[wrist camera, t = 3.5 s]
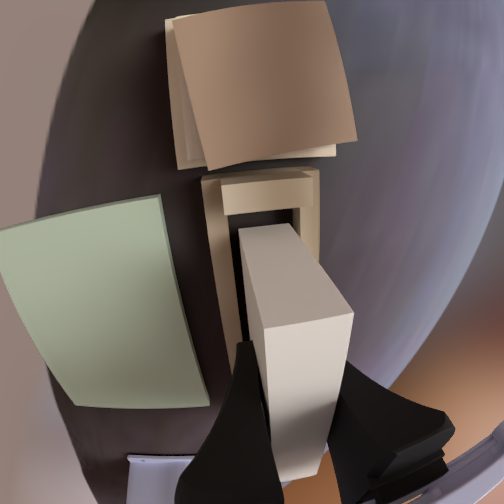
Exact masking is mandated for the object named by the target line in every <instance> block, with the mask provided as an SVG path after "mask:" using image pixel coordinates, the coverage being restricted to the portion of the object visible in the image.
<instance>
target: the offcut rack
mask: <svg viewBox="0 0 504 504" xmlns="http://www.w3.org/2000/svg"><path fill="white" fill-rule="evenodd" d="M165 32H166V52H167V68H168V81H169V93H170V104H171V115H172V124H173V134H174V142H175V151H176V159H177V167H178V170H180V169H187V168H194V167H202V166H207V167H208V171H210V170H214V169H218V168H222V167H226V166H230V165H234V164H238V163H242V162H247V161H257V160H269V159H284V158H301V157H324V156H336V144H338V143H345V142H352V141H357V135H356V129H355V122H354V117H353V111H352V106H351V100H350V95H349V90H348V85H347V81H346V76H345V72H344V68H343V63H342V59H341V55H340V51H339V47H338V44H337V40H336V36H335V33H334V29H333V26H332V22H331V19H330V16H329V13H328V10H327V6H326V3H325V1H290V2H274V3H262V4H253V5H245V6H238V7H231V8H225V9H220V10H214V11H209V12H205V13H200V14H193V15H186V16H179V17H176V18H172V19H167V20H165ZM201 185H202V193H203V201H204V209H205V216H206V223H207V230H208V237H209V244H210V251H211V258H212V264H213V271H214V277H215V283H216V289H217V295H218V301H219V307H220V313H221V319H222V325H223V330H224V336H225V341H226V347H227V352H228V357H229V363H230V368H231V373H232V374H233V369H234V364H235V359H236V344H237V343H238V342H243V341H242V333H241V326H240V318H239V310H238V303H237V295H236V287H235V279H234V270H233V262H232V254H231V245H230V237H229V228H228V219H227V215H233V214H241V213H250V212H259V211H268V210H278V209H288V208H292V210H293V229H294V230H295V232H296V233H297V234H298V236H299V237H300V238H301V240H302V241H303V242H304V244H305V245H306V246H307V248H308V249H309V250H310V252H311V253H312V255H313V256H314V257H315V259H316V260H317V261H318V263H319V228H320V196H319V170H317V169H315V168H313V167H311V166H298V167H283V168H270V169H258V170H248V171H238V172H229V173H220V174H212V175H204V176H202V179H201Z"/></svg>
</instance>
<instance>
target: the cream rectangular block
mask: <svg viewBox="0 0 504 504" xmlns="http://www.w3.org/2000/svg"><path fill="white" fill-rule="evenodd" d="M238 231H239V241H240V251H241V260H242V270H243V279H244V289H245V298H246V307H247V316H248V325H249V334H250V341H251V340H253V344H254V348H255V352H256V357H257V365H258V375H259V385H260V395H261V404H262V409H263V413H264V418H265V422H266V427H267V431H268V435H269V440H270V444H271V448H272V452H273V456H274V460H275V464H276V467H277V471H278V475H279V479H280V482H284V481H289V480H294V479H299V478H303V477H307V476H312V475H316V474H317V470H318V468H319V464H320V461H321V458H322V455H323V451H324V448H325V445H326V441H327V438H328V434H329V431H330V427H331V423H332V419H333V415H334V412H335V407H336V403H337V399H338V395H339V391H340V386H341V382H342V377H343V372H344V367H345V362H346V357H347V352H348V346H349V340H350V335H351V329H352V322H353V316H354V312H353V310H352V309H351V307H350V306H349V305H348V303H347V302H346V300H345V299H344V297H343V296H342V295H341V293H340V292H339V290H338V289H337V288H336V286H335V285H334V283H333V282H332V281H331V279H330V278H329V276H328V275H327V274H326V272H325V271H324V270H323V268H322V267H321V265H320V264H319V263H318V261H317V260H316V259H315V257H314V256H313V255H312V253H311V252H310V250H309V249H308V248H307V246H306V245H305V244H304V242H303V241H302V240H301V238H300V237H299V236H298V234H297V233H296V232H295V230H294V229H293V228H292V227H291V225H290V224H289V223H285V224H276V225H267V226H258V227H250V228H241V229H238Z"/></svg>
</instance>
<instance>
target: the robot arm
mask: <svg viewBox="0 0 504 504" xmlns="http://www.w3.org/2000/svg"><path fill="white" fill-rule="evenodd" d="M454 432H455V427H454V425H453V424H452V422H451V420H450V419H449V417H448V416H447V415H446V414H445V412H444V411H440V410H437V409H433V408H430V407H426V406H423V405H420V404H418V403H415V402H413V401H410V400H408V399H405V398H404V397H401V396H399V395H397V394H395V393H393V392H391V391H389V390H388V389H386V388H384V387H382V386H381V385H379V384H378V383H376V382H374V381H373V380H371V379H370V378H369V377H367V376H366V375H364V374H363V373H362V372H360V371H359V370H358V369H357V368H355V367H354V366H353V365H352V364H350V363H349V362H348V361H347V360H346V362H345V367H344V372H343V377H342V382H341V386H340V391H339V395H338V399H337V403H336V407H335V412H334V415H333V419H332V423H331V427H330V431H329V434H328V438H327V443H328V447H329V451H330V454H331V458H332V462H333V466H334V470H335V474H336V478H337V483H338V488H339V492H340V497H341V502H342V504H402V503H404V502H406V501H408V500H410V499H412V498H414V497H416V496H418V495H420V494H422V493H423V494H422V495H421V496H420V497H419V498H417V499H415V500H413V501H411V502H410V503H408V504H475V503H477V502H478V501H479V500H480V499H481V498H483V497H484V496H485V495H486V494H487V493H489V492H490V491H491V490H492V489H493V488H494V487H495V486H497V485H498V484H499V483H500V482H501V481H502V480H503V479H504V421H503V422H501V423H500V424H499V425H498V426H497V427H496V428H495V429H494V431H493V432H492V434H490V435H489V436H488V437H486V438H485V439H484V440H482V441H481V442H479V443H478V444H477V445H475V446H474V447H472V448H471V449H469V450H468V451H466V452H465V453H463V454H462V455H460V456H459V457H457V458H455V459H454V460H452V461H451V462H449V463H447V464H446V463H445V462H444V460H443V458H442V457H443V456H444V455H445V453H444V452H443V450H442V447H443V446H444V445H445V444H446V443H447V442H448V441H449V440H450V438H451V437H452V436H453V434H454ZM127 459H128V460H129V461H130V468H129V478H128V489H127V502H126V504H284V495H283V491H282V486H281V482H280V479H279V475H278V471H277V467H276V464H275V460H274V456H273V452H272V448H271V444H270V440H269V435H268V431H267V427H266V422H265V418H264V413H263V409H262V404H261V395H260V385H259V375H258V365H257V357H256V352H255V348H254V344H253V340H251V341H243V342H238V343H237V344H236V359H235V364H234V369H233V374H232V378H231V382H230V385H229V388H228V391H227V394H226V397H225V400H224V403H223V405H222V408H221V410H220V412H219V415H218V417H217V419H216V421H215V423H214V425H213V427H212V429H211V431H210V433H209V435H208V436H207V438H206V440H205V441H204V443H203V444H202V446H201V448H200V449H199V451H198V452H197V454H196V455H195V456H145V455H128V456H127Z"/></svg>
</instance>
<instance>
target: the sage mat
mask: <svg viewBox="0 0 504 504" xmlns="http://www.w3.org/2000/svg"><path fill="white" fill-rule="evenodd" d="M0 273H1V275H2V278H3V280H4V283H5V285H6V287H7V290H8V292H9V294H10V296H11V299H12V301H13V303H14V305H15V308H16V310H17V312H18V314H19V316H20V318H21V320H22V322H23V324H24V325H25V327H26V329H27V331H28V333H29V335H30V337H31V339H32V340H33V342H34V344H35V346H36V347H37V349H38V351H39V352H40V354H41V356H42V357H43V359H44V361H45V362H46V364H47V365H48V367H49V369H50V370H51V372H52V373H53V375H54V376H55V378H56V379H57V381H58V382H59V384H60V385H61V386H62V388H63V389H64V391H65V392H66V393H67V395H68V396H69V398H70V399H71V400H72V402H73V403H74V404H75V405H78V406H90V407H105V408H132V409H156V408H185V407H200V406H210V398H209V395H208V392H207V389H206V386H205V383H204V379H203V376H202V373H201V369H200V366H199V363H198V359H197V356H196V352H195V349H194V345H193V341H192V338H191V334H190V330H189V326H188V323H187V319H186V315H185V311H184V307H183V303H182V298H181V294H180V290H179V286H178V281H177V277H176V273H175V268H174V263H173V259H172V254H171V249H170V244H169V239H168V234H167V229H166V223H165V218H164V212H163V207H162V201H161V195H160V194H157V195H151V196H145V197H139V198H133V199H127V200H122V201H116V202H111V203H106V204H101V205H96V206H91V207H86V208H81V209H77V210H72V211H68V212H63V213H59V214H55V215H51V216H46V217H42V218H38V219H34V220H30V221H27V222H23V223H19V224H15V225H12V226H8V227H4V228H1V229H0Z"/></svg>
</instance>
